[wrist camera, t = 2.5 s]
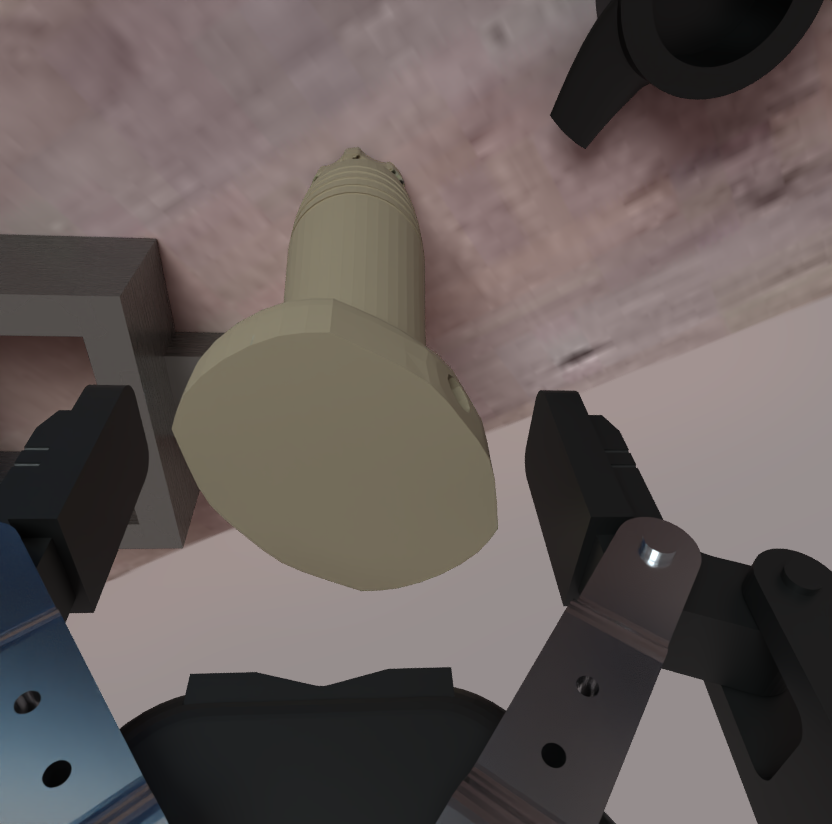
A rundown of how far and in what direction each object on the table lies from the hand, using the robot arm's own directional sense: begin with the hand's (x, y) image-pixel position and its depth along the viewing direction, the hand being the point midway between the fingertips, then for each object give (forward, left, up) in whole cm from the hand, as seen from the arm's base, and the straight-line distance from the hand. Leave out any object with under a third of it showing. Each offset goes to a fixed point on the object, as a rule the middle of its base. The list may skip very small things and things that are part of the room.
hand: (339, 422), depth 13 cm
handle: (0, 0, -13) cm, 13 cm away
